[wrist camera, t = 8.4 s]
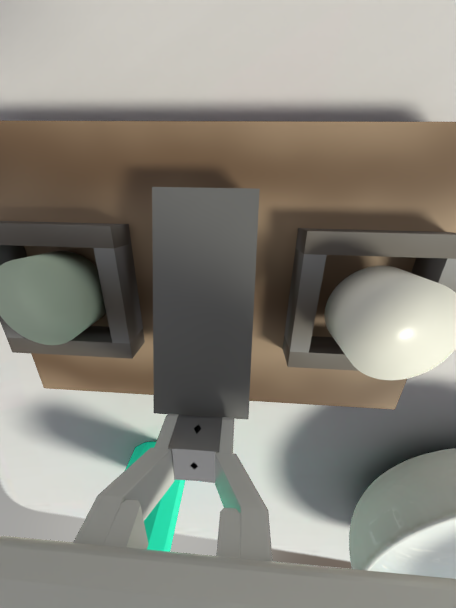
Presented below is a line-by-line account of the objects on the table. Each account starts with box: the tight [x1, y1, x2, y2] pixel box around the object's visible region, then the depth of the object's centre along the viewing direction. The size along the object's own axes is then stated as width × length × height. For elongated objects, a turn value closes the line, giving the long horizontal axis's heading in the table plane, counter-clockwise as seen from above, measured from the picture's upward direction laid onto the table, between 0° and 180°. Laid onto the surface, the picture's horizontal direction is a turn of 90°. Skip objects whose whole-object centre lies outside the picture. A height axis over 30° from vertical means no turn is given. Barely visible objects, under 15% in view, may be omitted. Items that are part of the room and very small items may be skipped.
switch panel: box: [0, 121, 456, 409], centre depth 14 cm, size 16×25×5 cm, turn 89°
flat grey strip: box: [152, 187, 260, 419], centre depth 10 cm, size 10×4×1 cm, turn 179°
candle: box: [125, 442, 185, 552], centre depth 18 cm, size 6×6×12 cm
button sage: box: [0, 250, 106, 345], centre depth 12 cm, size 4×4×2 cm
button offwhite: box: [325, 266, 456, 380], centre depth 10 cm, size 4×4×2 cm
